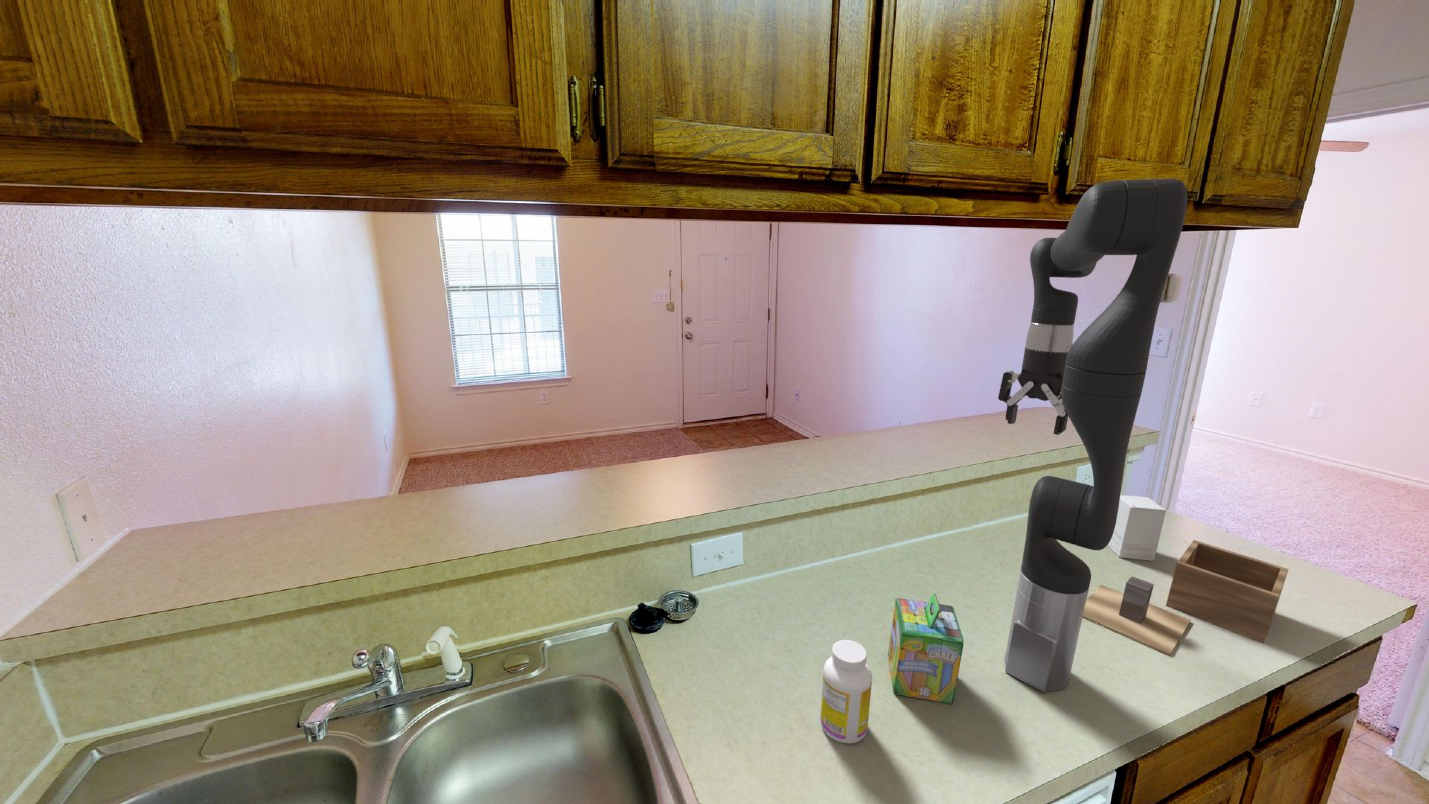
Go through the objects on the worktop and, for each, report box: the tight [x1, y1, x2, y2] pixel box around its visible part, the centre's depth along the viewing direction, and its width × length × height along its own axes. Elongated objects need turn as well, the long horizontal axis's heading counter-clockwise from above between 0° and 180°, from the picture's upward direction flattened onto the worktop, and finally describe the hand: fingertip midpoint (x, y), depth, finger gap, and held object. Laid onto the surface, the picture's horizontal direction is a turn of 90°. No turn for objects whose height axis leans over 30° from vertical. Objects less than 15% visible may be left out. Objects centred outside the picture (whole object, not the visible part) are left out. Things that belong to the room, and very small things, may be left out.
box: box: [1165, 539, 1289, 644], centre depth 106 cm, size 14×14×10 cm
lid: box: [1082, 576, 1192, 657], centre depth 104 cm, size 15×15×8 cm
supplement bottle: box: [820, 639, 873, 744], centre depth 78 cm, size 7×7×13 cm
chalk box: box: [887, 592, 965, 705], centre depth 87 cm, size 9×9×15 cm
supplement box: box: [1107, 494, 1167, 562], centre depth 127 cm, size 7×7×13 cm
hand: (1033, 428), depth 109 cm, fingers open, 8 cm apart
